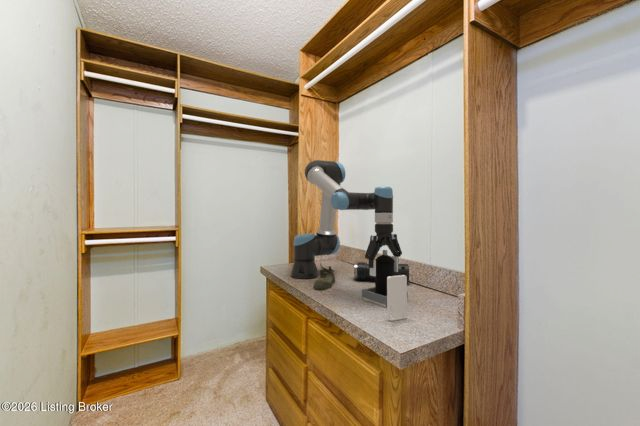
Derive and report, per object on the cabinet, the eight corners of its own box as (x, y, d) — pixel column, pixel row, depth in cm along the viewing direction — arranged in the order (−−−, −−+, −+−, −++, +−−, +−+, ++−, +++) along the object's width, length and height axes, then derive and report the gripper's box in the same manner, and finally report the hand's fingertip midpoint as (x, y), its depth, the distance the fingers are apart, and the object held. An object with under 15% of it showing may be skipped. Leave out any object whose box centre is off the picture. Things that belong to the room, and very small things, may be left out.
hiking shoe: (310, 291, 134) (310, 266, 134) (324, 281, 152) (324, 259, 152) (327, 293, 131) (327, 267, 131) (339, 283, 150) (339, 260, 149)
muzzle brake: (409, 285, 143) (409, 265, 143) (353, 283, 148) (353, 263, 148) (407, 281, 152) (407, 262, 152) (355, 279, 158) (355, 260, 158)
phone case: (404, 316, 100) (404, 274, 100) (407, 318, 99) (406, 275, 99) (387, 319, 98) (386, 276, 98) (389, 321, 96) (389, 277, 96)
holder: (361, 299, 121) (361, 289, 121) (383, 293, 129) (383, 284, 129) (385, 307, 110) (385, 297, 110) (407, 301, 118) (407, 291, 118)
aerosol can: (390, 301, 114) (391, 252, 114) (371, 298, 118) (372, 250, 118) (396, 296, 121) (397, 250, 121) (378, 293, 125) (379, 248, 125)
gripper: (368, 224, 109) (369, 279, 109) (410, 222, 123) (410, 271, 124) (355, 224, 115) (356, 275, 115) (396, 222, 130) (396, 268, 130)
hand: (384, 273), depth 119 cm, fingers open, 13 cm apart
